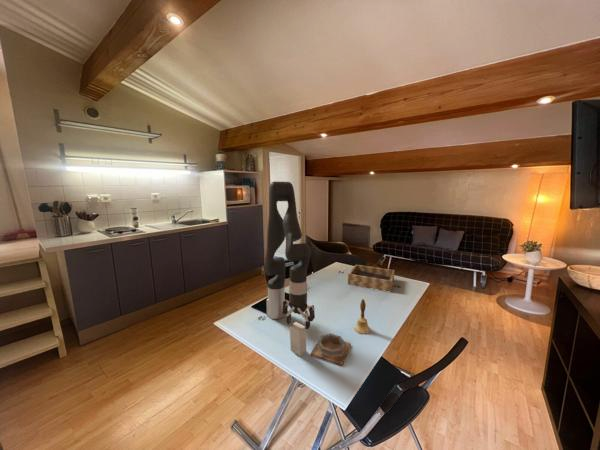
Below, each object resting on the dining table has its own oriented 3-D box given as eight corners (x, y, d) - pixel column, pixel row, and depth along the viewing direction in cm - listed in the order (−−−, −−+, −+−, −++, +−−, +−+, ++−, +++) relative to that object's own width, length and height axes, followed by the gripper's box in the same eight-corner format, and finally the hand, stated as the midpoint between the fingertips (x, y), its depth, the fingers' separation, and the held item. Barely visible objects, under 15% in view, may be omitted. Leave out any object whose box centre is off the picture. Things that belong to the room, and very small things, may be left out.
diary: (385, 291, 165) (386, 284, 164) (351, 283, 178) (351, 277, 177) (391, 282, 181) (391, 275, 180) (359, 275, 193) (359, 269, 193)
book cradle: (347, 284, 175) (348, 274, 173) (355, 273, 196) (355, 264, 195) (390, 292, 162) (391, 281, 160) (393, 280, 183) (394, 270, 182)
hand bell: (354, 333, 116) (355, 303, 114) (353, 323, 124) (354, 295, 122) (371, 335, 115) (373, 304, 112) (369, 325, 123) (371, 296, 120)
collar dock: (310, 355, 101) (310, 346, 100) (322, 337, 113) (322, 329, 113) (342, 366, 95) (342, 357, 94) (350, 345, 107) (351, 337, 106)
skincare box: (306, 351, 103) (306, 326, 101) (299, 357, 100) (299, 331, 98) (296, 345, 107) (296, 320, 105) (289, 350, 104) (289, 325, 102)
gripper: (279, 290, 99) (279, 326, 101) (310, 297, 92) (309, 335, 95) (287, 284, 105) (287, 317, 108) (317, 290, 99) (316, 325, 101)
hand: (298, 326), depth 101 cm, fingers open, 8 cm apart
